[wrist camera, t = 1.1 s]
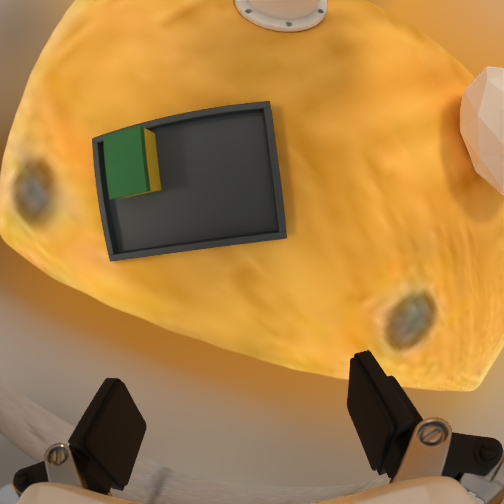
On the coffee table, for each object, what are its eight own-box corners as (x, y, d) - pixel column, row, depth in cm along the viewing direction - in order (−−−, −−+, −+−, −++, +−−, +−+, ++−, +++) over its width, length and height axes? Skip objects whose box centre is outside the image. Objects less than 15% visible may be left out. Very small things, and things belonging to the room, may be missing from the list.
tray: (99, 140, 29) (91, 138, 27) (268, 106, 29) (269, 100, 27) (116, 257, 32) (109, 261, 30) (284, 235, 32) (287, 238, 30)
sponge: (121, 142, 28) (102, 136, 24) (155, 133, 28) (139, 125, 24) (128, 197, 30) (109, 199, 25) (161, 190, 30) (147, 191, 25)
